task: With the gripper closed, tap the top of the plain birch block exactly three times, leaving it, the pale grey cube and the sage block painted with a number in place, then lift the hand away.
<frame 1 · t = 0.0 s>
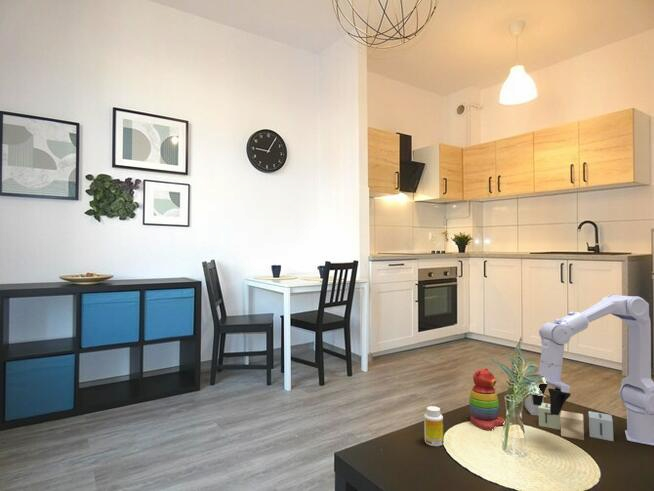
hand: (545, 409, 116), 11 cm above the table, tool pointing down, fingers open, 7 cm apart
gray thick disc: (534, 412, 142), on the table
stacking bear: (485, 423, 132), on the table
pale grey cube: (601, 435, 122), on the table
plain birch block: (572, 434, 123), on the table
supplement bottle: (434, 443, 118), on the table
sage number block: (549, 424, 131), on the table
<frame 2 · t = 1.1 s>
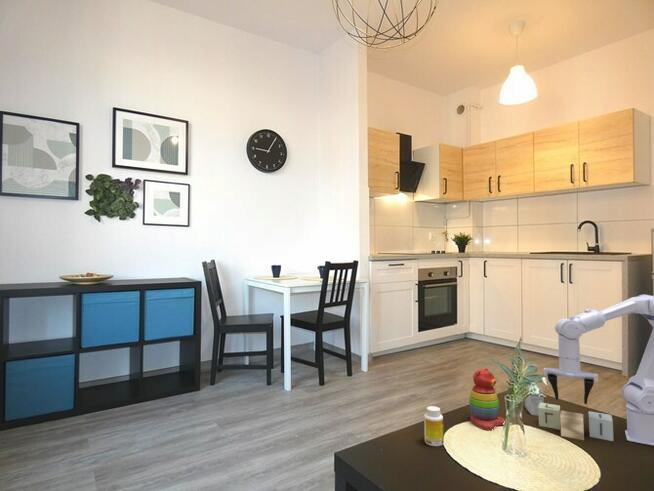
hand: (571, 400, 124), 10 cm above the table, tool pointing down, fingers open, 7 cm apart
nothing on the table moved.
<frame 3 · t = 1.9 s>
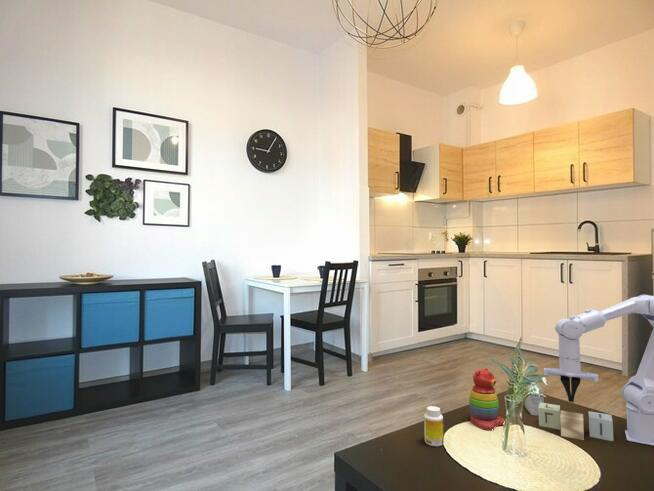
hand: (571, 400, 124), 10 cm above the table, tool pointing down, fingers closed
nothing on the table moved.
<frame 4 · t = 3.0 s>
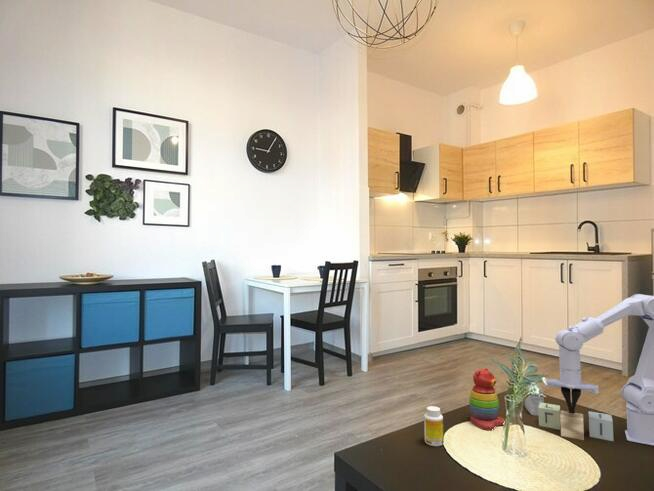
hand: (571, 412, 123), 7 cm above the table, tool pointing down, fingers closed
nothing on the table moved.
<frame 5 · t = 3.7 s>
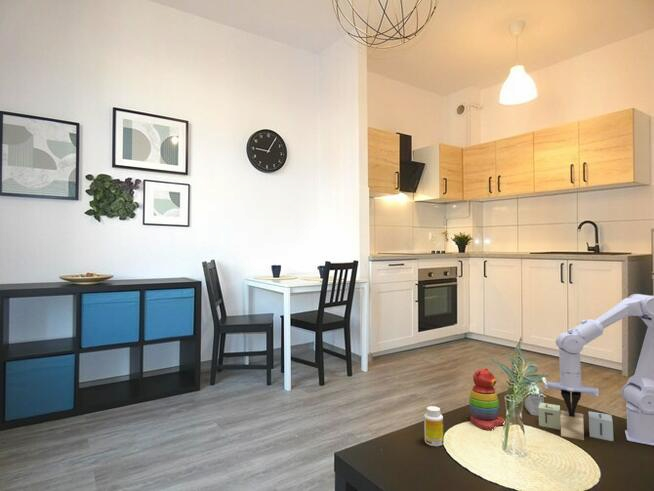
hand: (571, 415, 123), 6 cm above the table, tool pointing down, fingers closed
nothing on the table moved.
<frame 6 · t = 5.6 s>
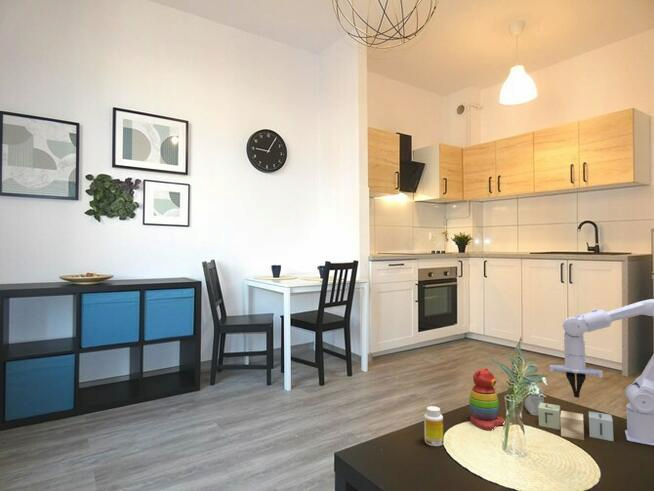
hand: (576, 396, 128), 10 cm above the table, tool pointing down, fingers closed
nothing on the table moved.
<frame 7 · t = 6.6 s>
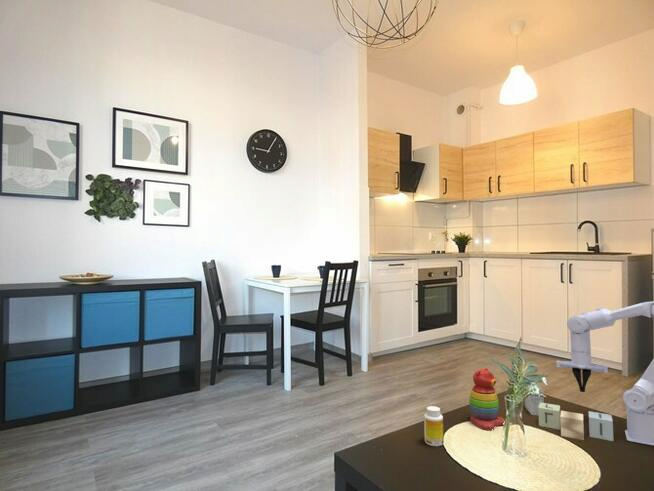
hand: (582, 391, 133), 10 cm above the table, tool pointing down, fingers closed
nothing on the table moved.
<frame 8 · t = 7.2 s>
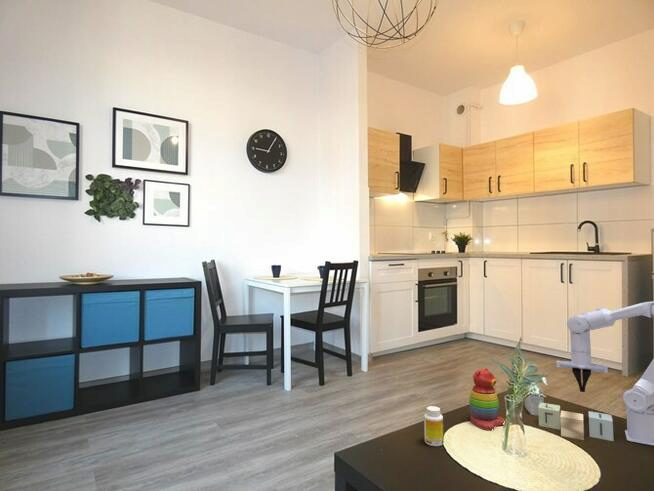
hand: (582, 391, 133), 10 cm above the table, tool pointing down, fingers closed
nothing on the table moved.
at the end: plain birch block moved 0.1 cm from its start; plain birch block tilted 0°; sage number block moved 0.1 cm from its start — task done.
